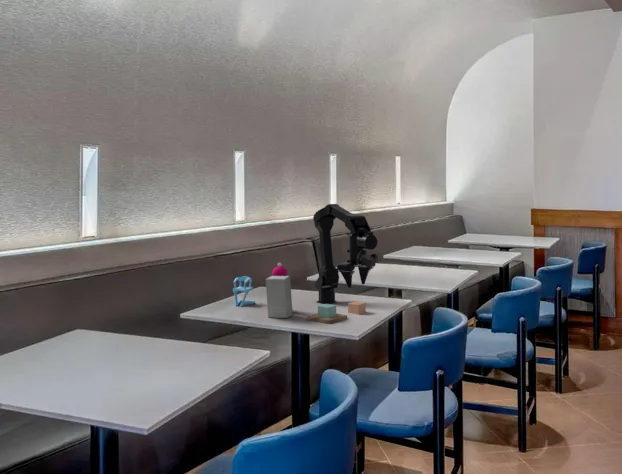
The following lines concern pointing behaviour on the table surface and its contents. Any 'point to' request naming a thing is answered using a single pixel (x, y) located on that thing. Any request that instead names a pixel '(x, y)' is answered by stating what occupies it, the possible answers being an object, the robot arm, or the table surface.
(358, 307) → the tan brick
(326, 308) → the teal brick
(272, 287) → the skincare box
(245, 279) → the chair
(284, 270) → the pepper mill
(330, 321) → the walnut board
